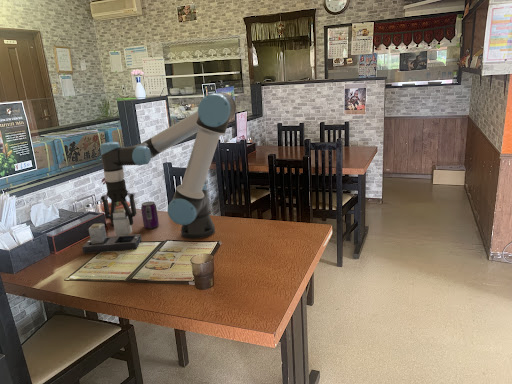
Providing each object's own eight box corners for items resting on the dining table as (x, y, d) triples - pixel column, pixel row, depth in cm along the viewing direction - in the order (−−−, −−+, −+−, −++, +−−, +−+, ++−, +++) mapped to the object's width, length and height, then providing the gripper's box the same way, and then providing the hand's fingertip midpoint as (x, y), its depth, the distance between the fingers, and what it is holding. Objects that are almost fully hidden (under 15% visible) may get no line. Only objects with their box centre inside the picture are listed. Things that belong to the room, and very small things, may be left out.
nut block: (131, 230, 170) (127, 207, 168) (128, 234, 166) (124, 211, 163) (119, 231, 170) (115, 208, 168) (116, 235, 165) (112, 212, 162)
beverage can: (162, 225, 192) (158, 201, 189) (151, 230, 186) (147, 206, 183) (151, 223, 196) (148, 200, 192) (141, 228, 190) (137, 204, 187)
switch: (141, 240, 174) (138, 217, 172) (136, 249, 165) (132, 225, 162) (91, 244, 174) (87, 221, 171) (83, 253, 164) (78, 230, 161)
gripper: (139, 176, 166) (146, 227, 172) (96, 179, 165) (105, 231, 171) (135, 180, 158) (143, 234, 165) (89, 183, 158) (99, 237, 164)
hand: (123, 232), depth 168 cm, fingers closed on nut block, 5 cm apart
